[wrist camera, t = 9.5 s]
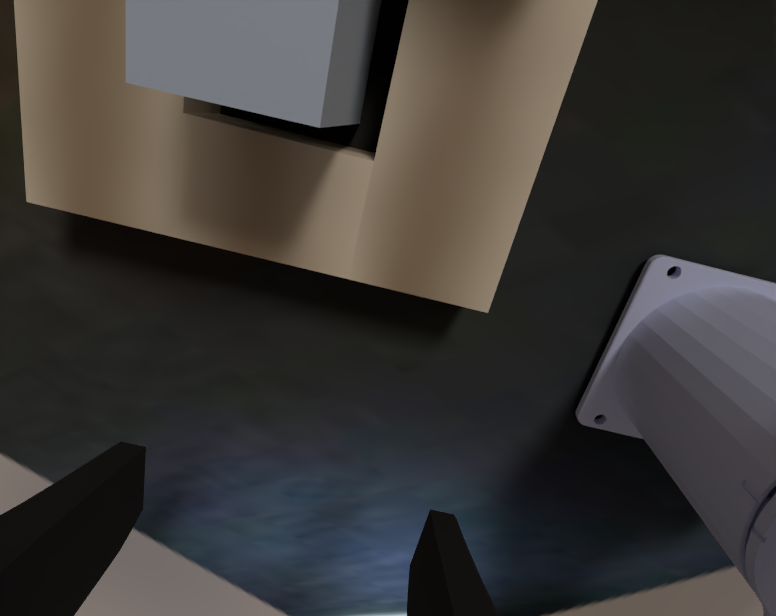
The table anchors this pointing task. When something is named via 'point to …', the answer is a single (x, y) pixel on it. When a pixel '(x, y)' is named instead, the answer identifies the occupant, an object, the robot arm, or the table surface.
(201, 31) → the peg
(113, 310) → the table surface
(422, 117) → the socket plate
